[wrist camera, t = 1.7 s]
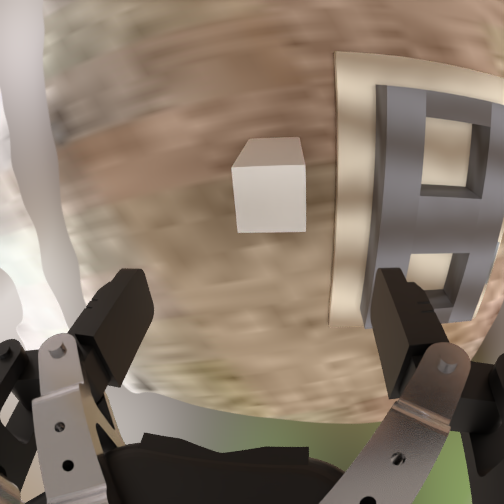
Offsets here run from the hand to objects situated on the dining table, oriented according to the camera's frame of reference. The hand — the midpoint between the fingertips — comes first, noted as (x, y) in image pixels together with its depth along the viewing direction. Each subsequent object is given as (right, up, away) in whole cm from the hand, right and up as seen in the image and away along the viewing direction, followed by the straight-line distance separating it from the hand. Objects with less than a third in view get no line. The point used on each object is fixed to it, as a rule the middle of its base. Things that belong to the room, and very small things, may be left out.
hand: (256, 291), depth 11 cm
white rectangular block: (+2, +9, +15) cm, 17 cm away
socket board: (+16, +5, +15) cm, 23 cm away
